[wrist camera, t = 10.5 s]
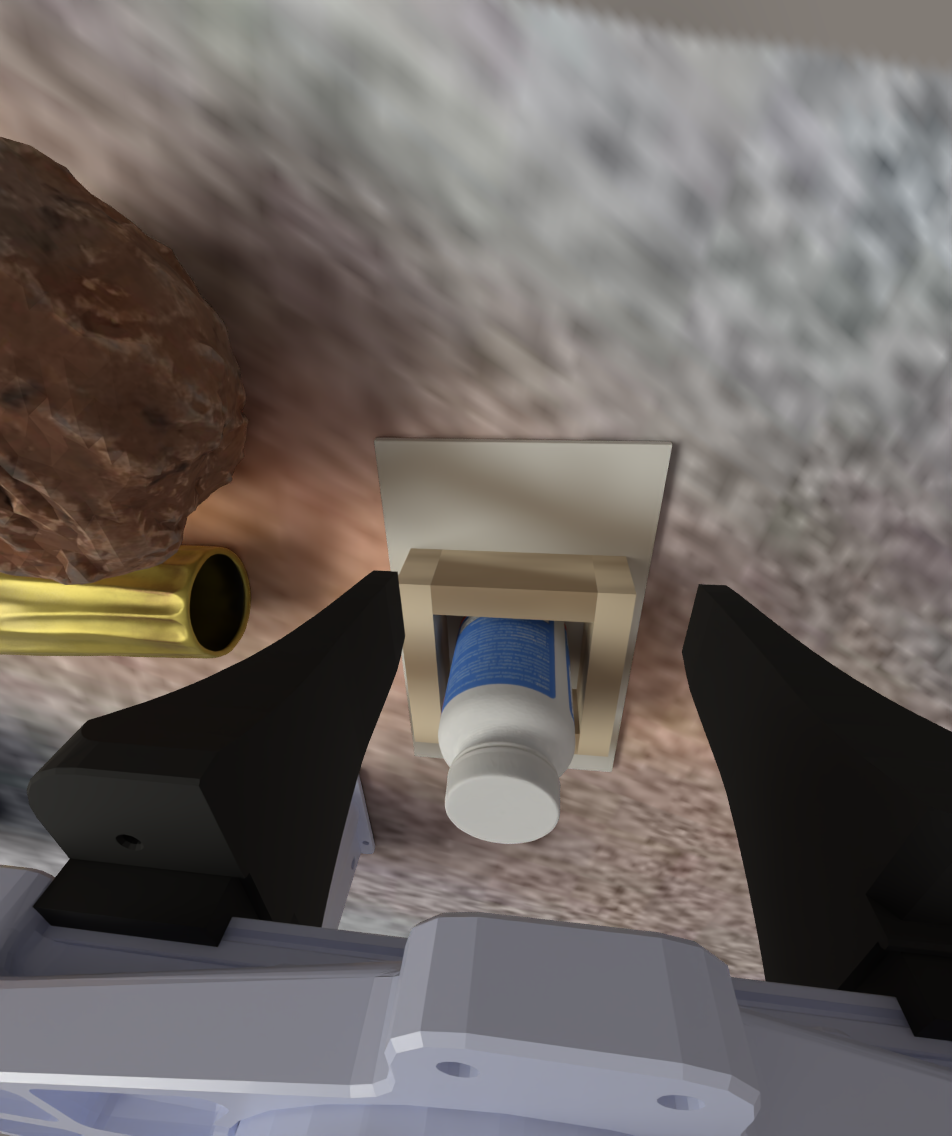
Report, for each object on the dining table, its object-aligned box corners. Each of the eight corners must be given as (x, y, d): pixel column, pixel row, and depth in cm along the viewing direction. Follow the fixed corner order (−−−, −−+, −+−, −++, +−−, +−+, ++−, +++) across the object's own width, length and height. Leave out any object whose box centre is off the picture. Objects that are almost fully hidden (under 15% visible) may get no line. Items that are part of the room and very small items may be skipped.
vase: (6, 647, 28) (254, 656, 27) (-136, 669, 22) (177, 681, 21) (9, 537, 28) (257, 541, 27) (-133, 528, 22) (181, 532, 21)
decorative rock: (1, 94, 17) (-550, -67, 8) (323, 255, 18) (132, 256, 10) (26, 444, 24) (-263, 551, 15) (258, 542, 25) (113, 688, 17)
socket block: (610, 766, 31) (617, 819, 28) (416, 750, 32) (403, 799, 29) (670, 441, 20) (691, 472, 17) (376, 437, 21) (350, 466, 19)
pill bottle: (438, 619, 26) (388, 791, 17) (524, 566, 23) (514, 736, 15) (504, 685, 28) (487, 869, 19) (589, 643, 25) (611, 830, 17)
